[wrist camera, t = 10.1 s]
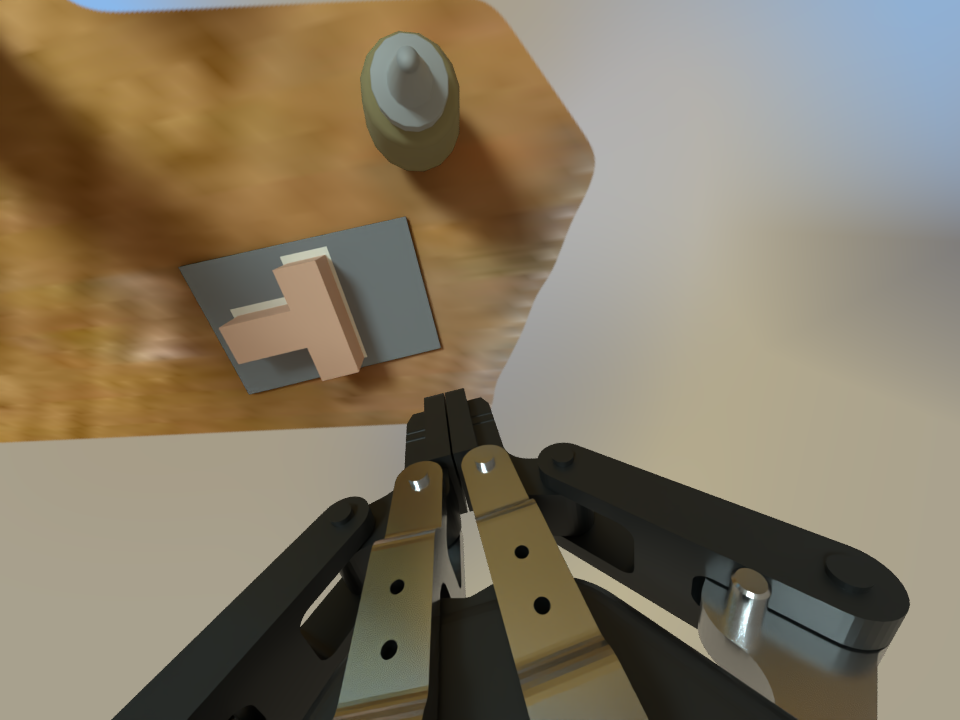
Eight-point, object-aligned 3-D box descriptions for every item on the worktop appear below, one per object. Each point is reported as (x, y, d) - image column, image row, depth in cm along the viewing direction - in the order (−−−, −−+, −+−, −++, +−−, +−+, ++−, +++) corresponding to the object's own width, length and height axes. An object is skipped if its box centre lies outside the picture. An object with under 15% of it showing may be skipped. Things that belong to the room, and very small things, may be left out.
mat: (181, 266, 36) (178, 267, 36) (405, 216, 37) (405, 216, 37) (250, 392, 42) (249, 394, 42) (440, 346, 44) (440, 347, 43)
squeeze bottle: (351, 108, 33) (284, 19, 17) (424, 54, 32) (427, -96, 16) (405, 191, 36) (392, 183, 20) (472, 143, 36) (515, 95, 19)
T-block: (218, 279, 37) (196, 288, 33) (325, 254, 37) (315, 260, 34) (271, 380, 42) (256, 397, 38) (364, 357, 42) (359, 371, 39)
